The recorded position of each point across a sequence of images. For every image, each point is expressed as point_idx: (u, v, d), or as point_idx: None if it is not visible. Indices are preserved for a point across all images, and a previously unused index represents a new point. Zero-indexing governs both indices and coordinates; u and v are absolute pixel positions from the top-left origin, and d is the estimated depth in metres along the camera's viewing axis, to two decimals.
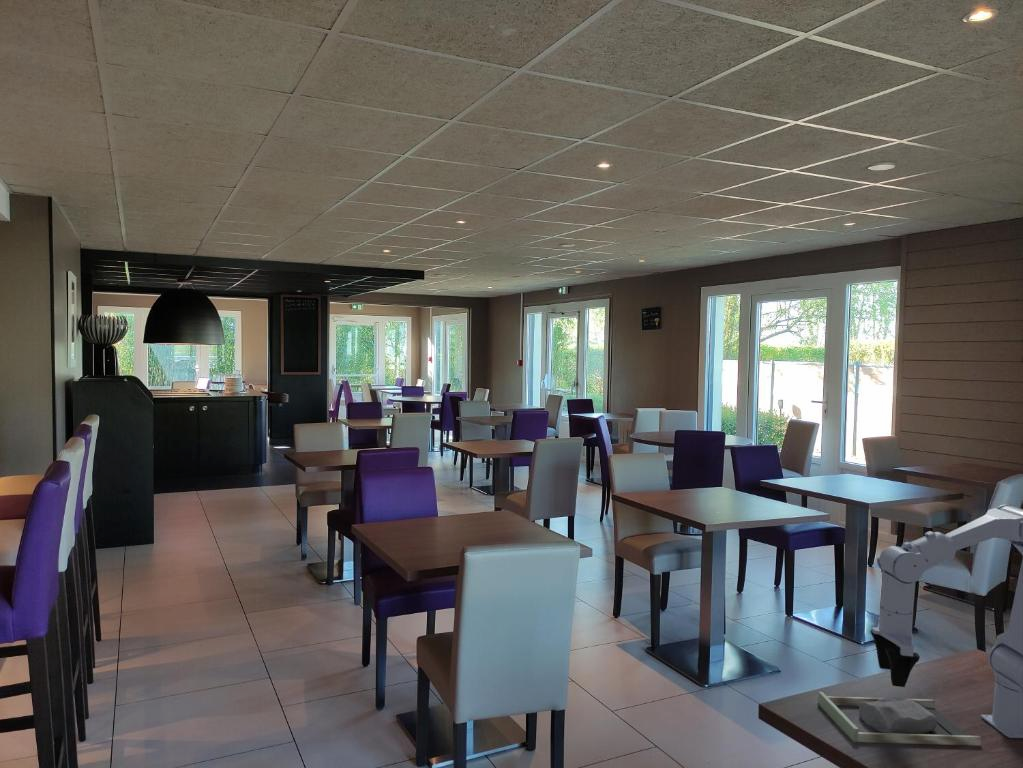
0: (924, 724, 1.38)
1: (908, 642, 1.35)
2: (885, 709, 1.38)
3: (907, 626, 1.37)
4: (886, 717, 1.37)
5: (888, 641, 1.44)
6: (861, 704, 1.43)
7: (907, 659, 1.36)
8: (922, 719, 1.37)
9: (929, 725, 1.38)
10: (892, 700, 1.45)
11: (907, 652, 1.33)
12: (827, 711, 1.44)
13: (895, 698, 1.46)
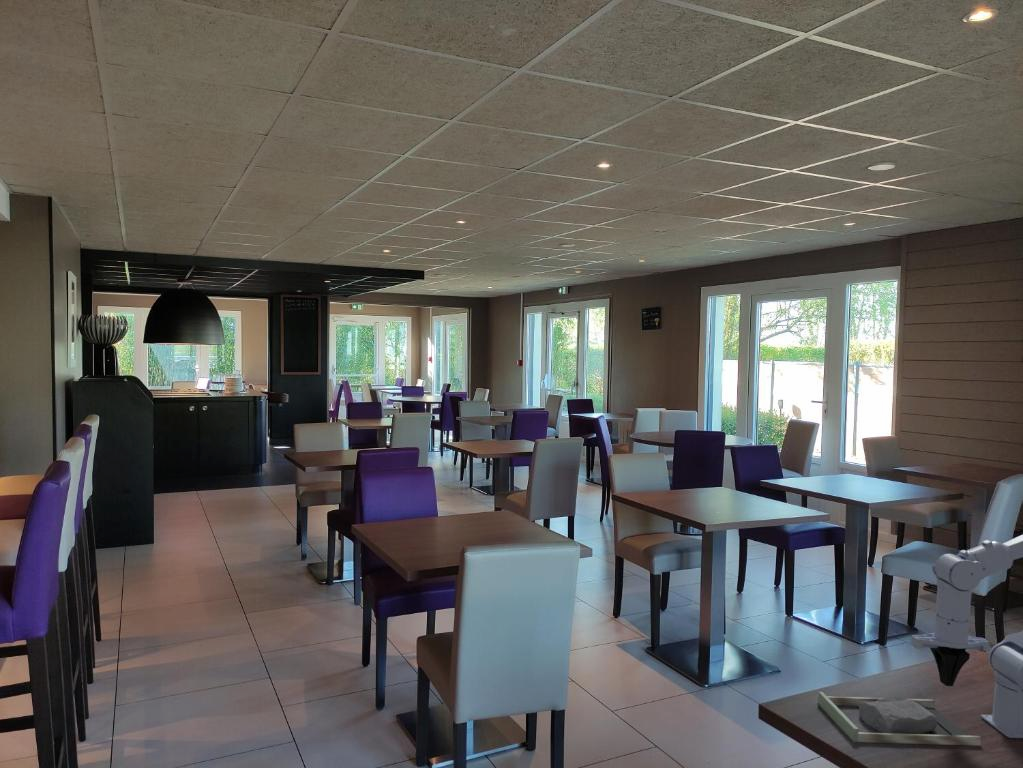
0: (924, 724, 1.38)
1: None
2: (885, 709, 1.38)
3: (942, 630, 1.40)
4: (886, 717, 1.37)
5: None
6: (861, 704, 1.43)
7: None
8: (922, 719, 1.37)
9: (929, 725, 1.38)
10: (892, 700, 1.45)
11: (913, 643, 1.41)
12: (827, 711, 1.44)
13: (895, 698, 1.46)
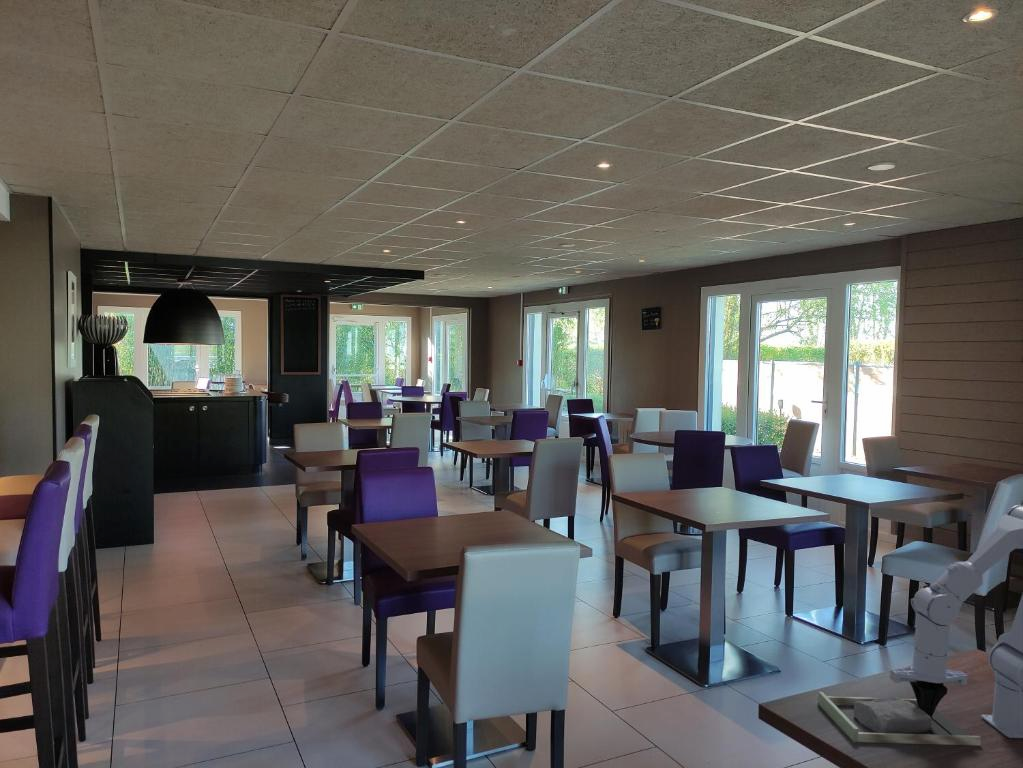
0: (919, 724, 1.37)
1: None
2: (879, 709, 1.38)
3: (920, 664, 1.40)
4: (881, 717, 1.37)
5: None
6: (856, 704, 1.43)
7: None
8: (917, 719, 1.37)
9: (924, 726, 1.38)
10: (887, 700, 1.45)
11: (892, 677, 1.41)
12: (827, 711, 1.44)
13: (890, 698, 1.46)
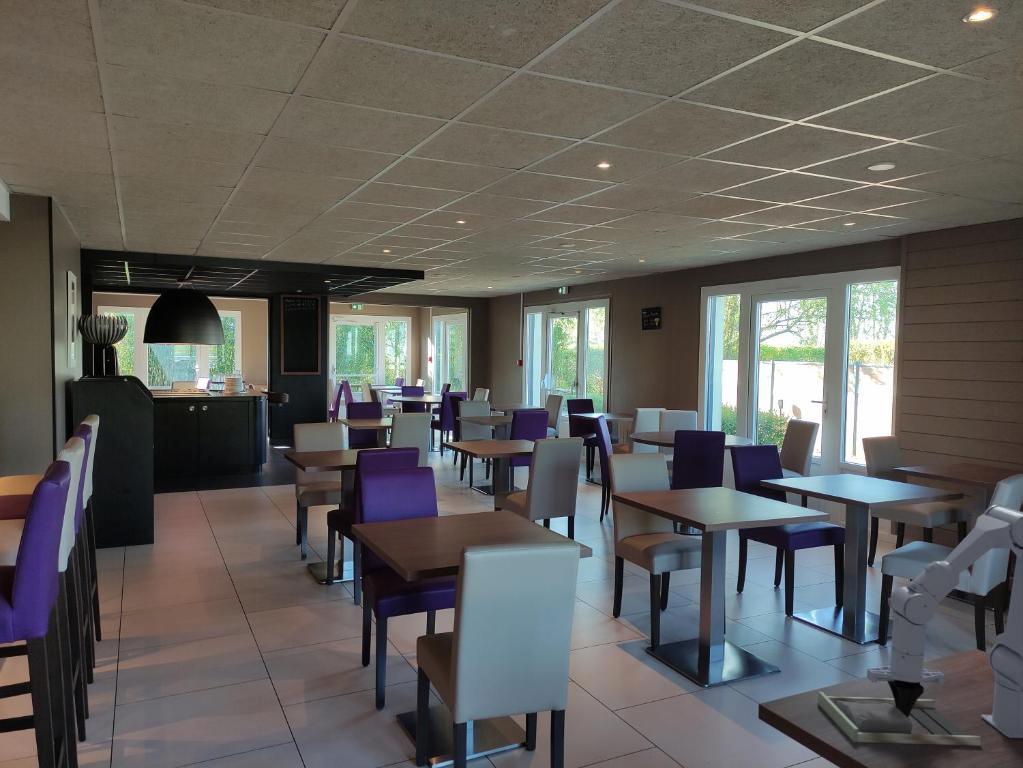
0: (897, 727, 1.36)
1: (884, 674, 1.40)
2: (856, 709, 1.38)
3: (897, 663, 1.40)
4: (856, 716, 1.37)
5: None
6: (837, 703, 1.43)
7: None
8: (895, 722, 1.36)
9: (903, 729, 1.37)
10: (871, 702, 1.44)
11: (869, 676, 1.41)
12: (827, 711, 1.44)
13: (875, 701, 1.45)
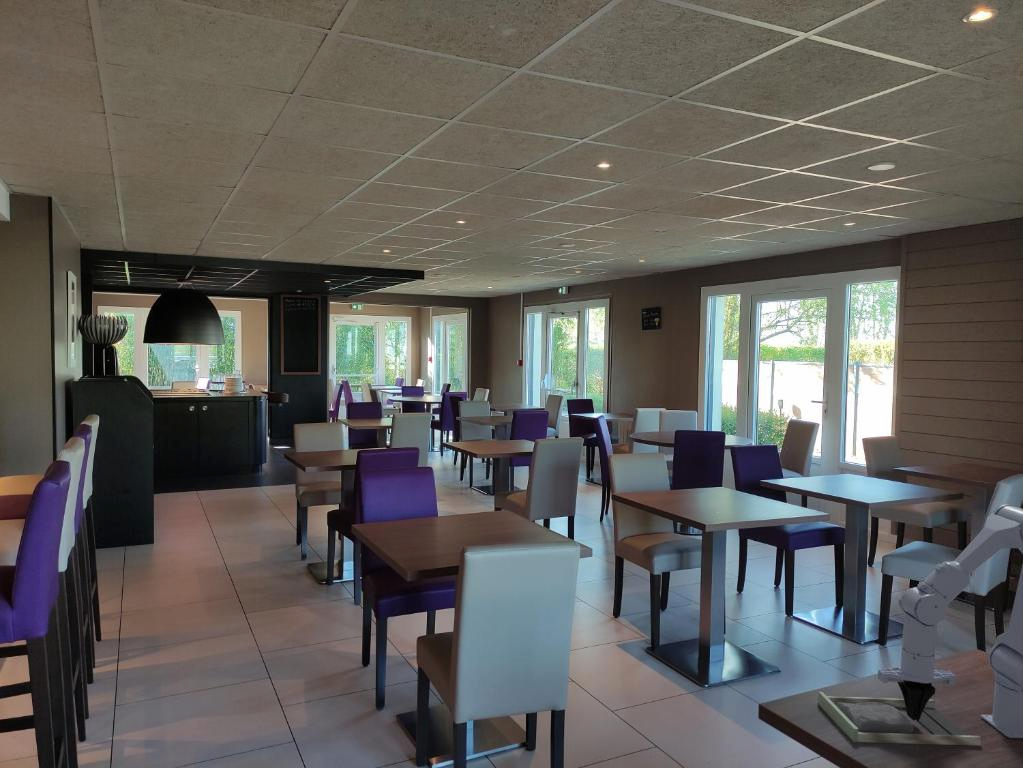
0: (898, 729, 1.36)
1: None
2: (856, 710, 1.38)
3: (908, 664, 1.40)
4: (856, 718, 1.37)
5: None
6: (837, 704, 1.43)
7: None
8: (896, 724, 1.36)
9: (903, 731, 1.36)
10: (872, 704, 1.44)
11: (880, 677, 1.41)
12: (827, 711, 1.44)
13: (876, 703, 1.45)
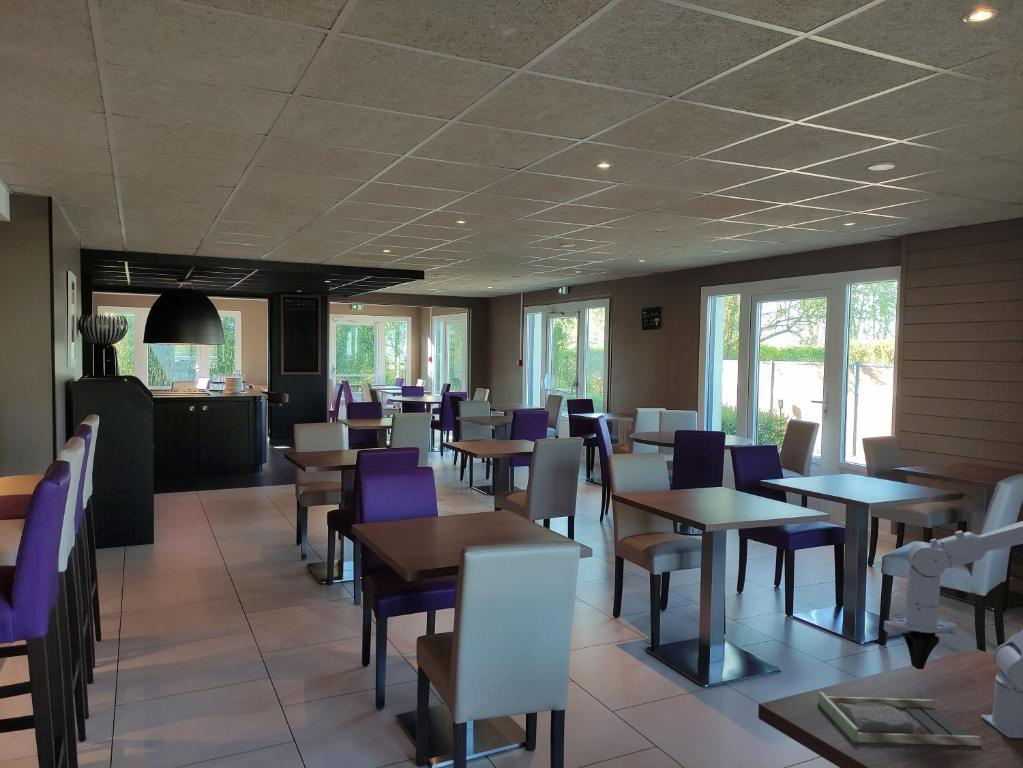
0: (899, 730, 1.36)
1: None
2: (858, 711, 1.38)
3: (913, 615, 1.45)
4: (858, 719, 1.36)
5: None
6: (838, 705, 1.43)
7: None
8: (897, 725, 1.36)
9: (905, 732, 1.36)
10: (873, 705, 1.44)
11: (886, 628, 1.46)
12: (827, 711, 1.44)
13: (877, 703, 1.44)
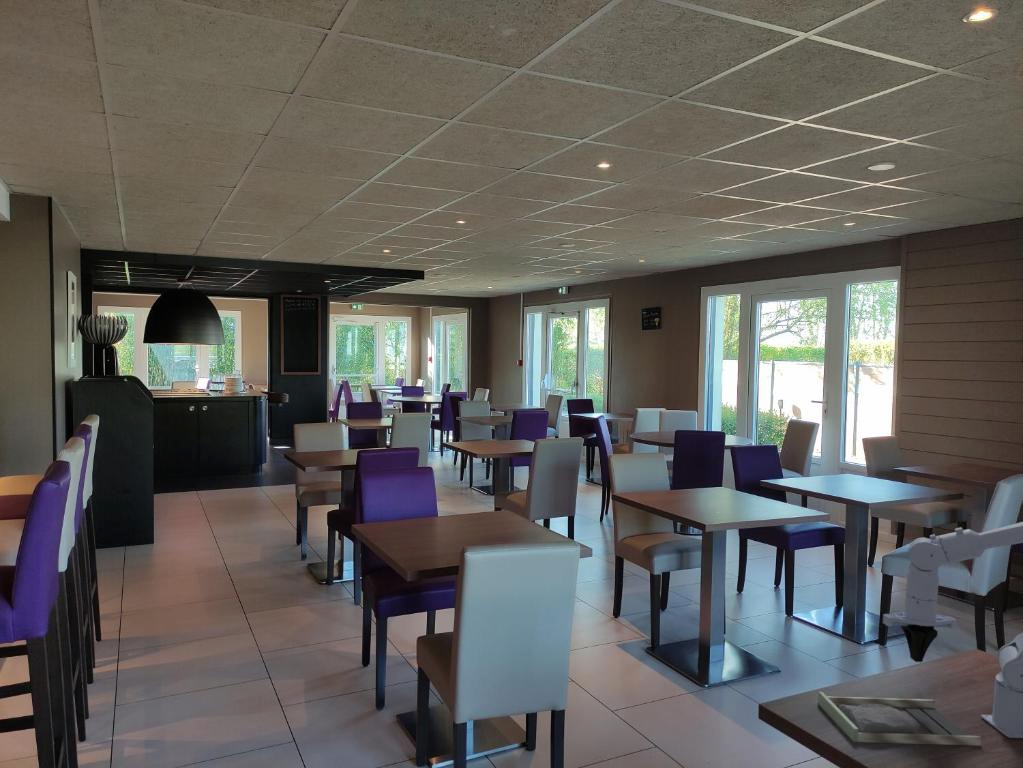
0: (901, 731, 1.35)
1: None
2: (859, 713, 1.37)
3: (911, 609, 1.48)
4: (859, 720, 1.36)
5: None
6: (839, 707, 1.42)
7: None
8: (899, 726, 1.35)
9: (906, 733, 1.36)
10: (874, 706, 1.43)
11: (885, 621, 1.49)
12: (827, 711, 1.44)
13: (878, 705, 1.44)
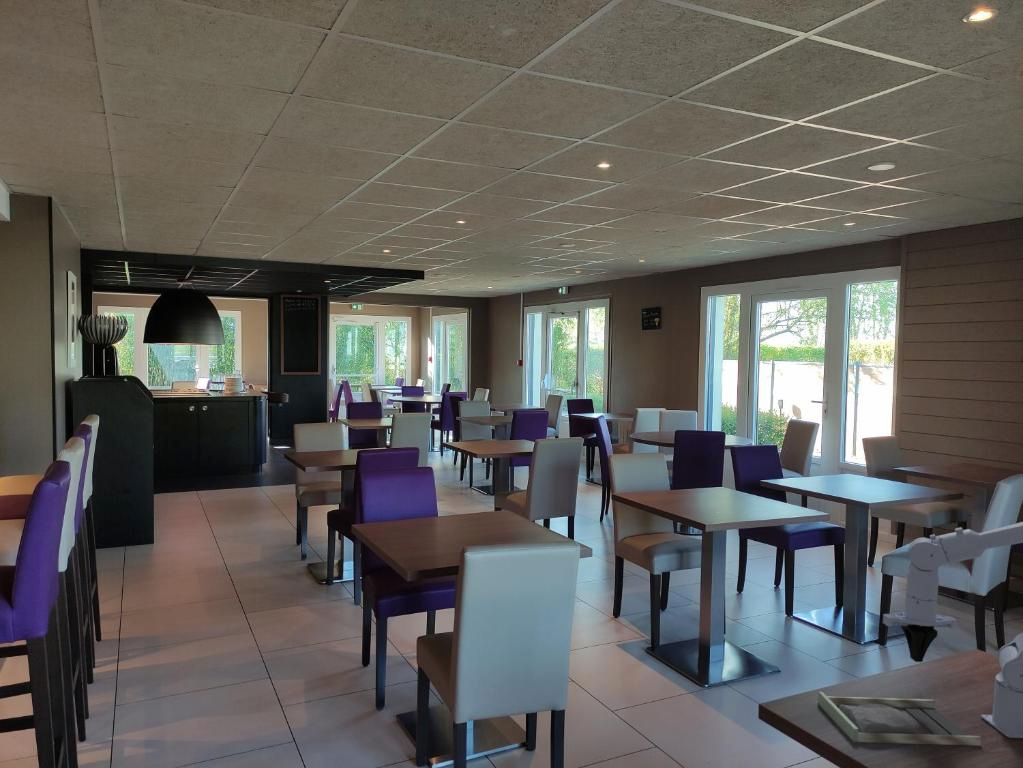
0: (901, 731, 1.35)
1: None
2: (860, 713, 1.37)
3: (911, 609, 1.48)
4: (860, 720, 1.36)
5: None
6: (840, 707, 1.42)
7: None
8: (899, 727, 1.35)
9: None
10: (875, 706, 1.43)
11: (885, 621, 1.49)
12: (827, 711, 1.44)
13: (879, 705, 1.44)
